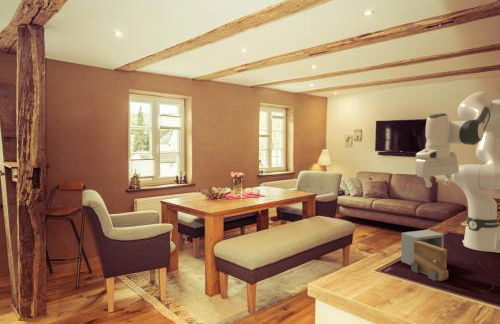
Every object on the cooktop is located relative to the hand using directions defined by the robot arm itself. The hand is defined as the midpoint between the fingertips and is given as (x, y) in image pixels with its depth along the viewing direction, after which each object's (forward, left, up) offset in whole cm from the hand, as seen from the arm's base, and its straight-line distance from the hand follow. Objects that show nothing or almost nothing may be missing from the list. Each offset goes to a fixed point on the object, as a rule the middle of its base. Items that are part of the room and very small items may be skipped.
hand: (437, 186), depth 143 cm
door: (+16, +12, -31) cm, 37 cm away
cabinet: (+8, +1, -31) cm, 32 cm away
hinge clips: (+16, +12, -31) cm, 37 cm away
